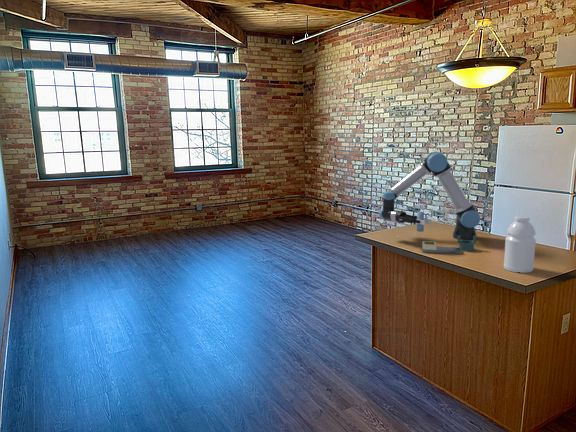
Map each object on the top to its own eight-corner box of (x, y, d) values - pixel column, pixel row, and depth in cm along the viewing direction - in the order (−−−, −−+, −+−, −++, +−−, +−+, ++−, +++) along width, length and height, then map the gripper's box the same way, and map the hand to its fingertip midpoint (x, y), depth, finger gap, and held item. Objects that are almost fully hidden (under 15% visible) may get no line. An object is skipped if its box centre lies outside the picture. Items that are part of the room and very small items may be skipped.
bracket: (476, 250, 259) (477, 235, 257) (467, 252, 254) (467, 237, 253) (464, 247, 266) (465, 233, 265) (454, 249, 262) (455, 235, 260)
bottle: (511, 273, 214) (515, 220, 209) (498, 265, 228) (501, 214, 223) (539, 272, 214) (543, 219, 209) (524, 264, 228) (528, 214, 223)
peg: (423, 230, 265) (424, 211, 263) (423, 231, 262) (424, 212, 259) (416, 230, 266) (417, 211, 264) (416, 231, 263) (417, 212, 261)
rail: (459, 250, 258) (460, 242, 257) (461, 254, 250) (461, 246, 249) (422, 248, 264) (422, 241, 263) (422, 252, 257) (422, 244, 256)
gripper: (408, 220, 283) (436, 226, 263) (389, 223, 274) (417, 230, 255) (408, 209, 281) (436, 214, 262) (389, 212, 273) (418, 217, 253)
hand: (427, 222), depth 258 cm, fingers closed on peg, 4 cm apart
